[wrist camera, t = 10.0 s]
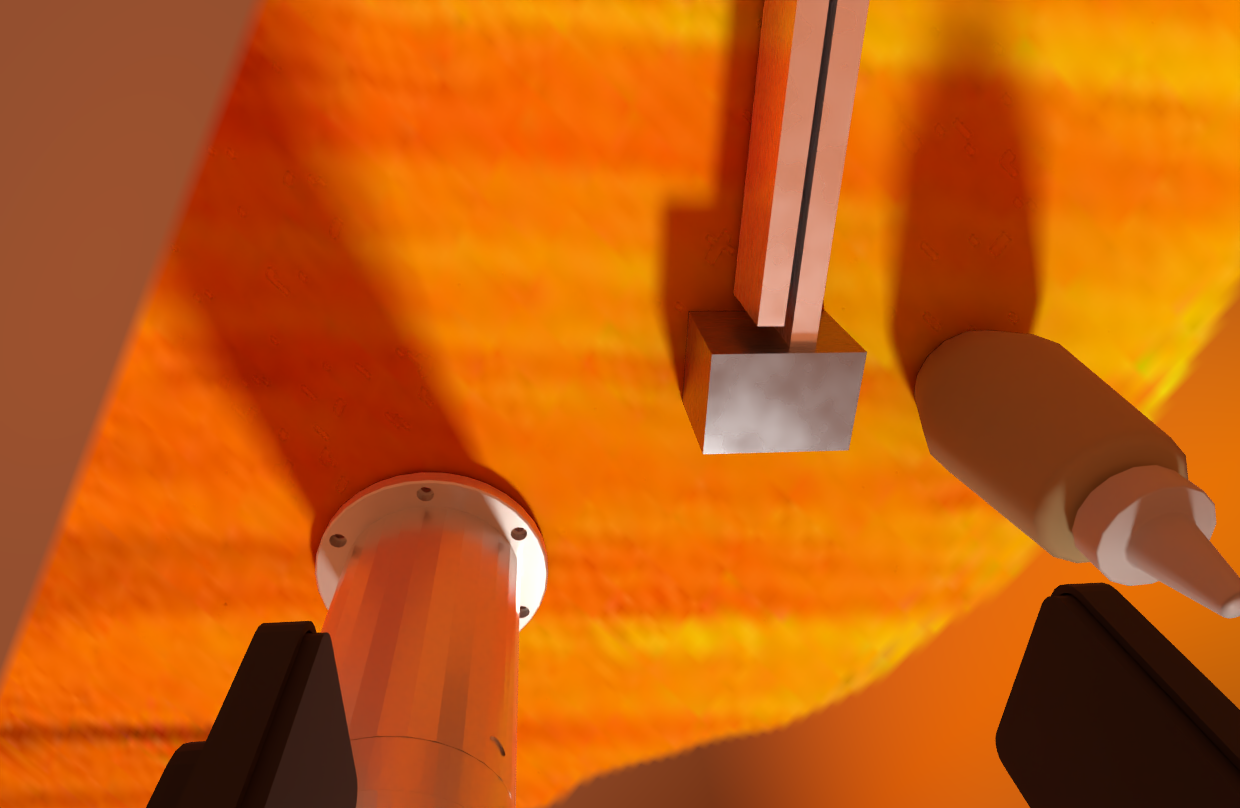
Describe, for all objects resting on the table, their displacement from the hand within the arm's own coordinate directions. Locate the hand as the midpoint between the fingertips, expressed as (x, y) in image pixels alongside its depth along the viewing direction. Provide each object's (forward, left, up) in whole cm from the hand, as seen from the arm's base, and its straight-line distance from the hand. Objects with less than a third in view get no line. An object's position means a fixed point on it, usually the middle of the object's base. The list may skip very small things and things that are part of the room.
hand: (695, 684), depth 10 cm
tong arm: (+6, -8, -28) cm, 30 cm away
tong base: (+2, -9, -28) cm, 30 cm away
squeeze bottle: (-9, -21, -28) cm, 37 cm away
